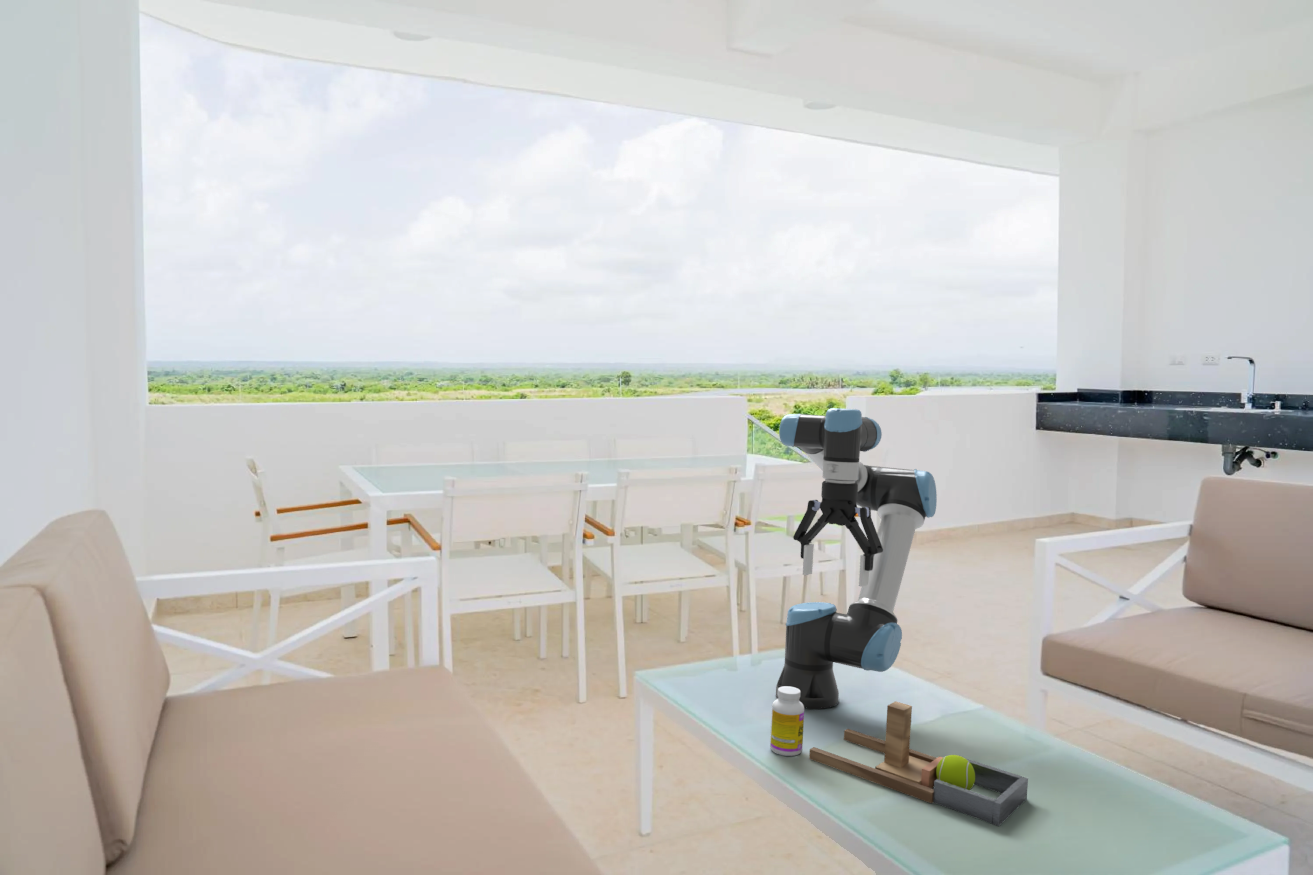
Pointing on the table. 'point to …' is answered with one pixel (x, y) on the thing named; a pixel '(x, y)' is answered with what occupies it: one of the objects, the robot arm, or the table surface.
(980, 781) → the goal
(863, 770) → the track rails
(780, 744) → the supplement bottle
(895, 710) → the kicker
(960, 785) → the tennis ball
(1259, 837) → the table surface
